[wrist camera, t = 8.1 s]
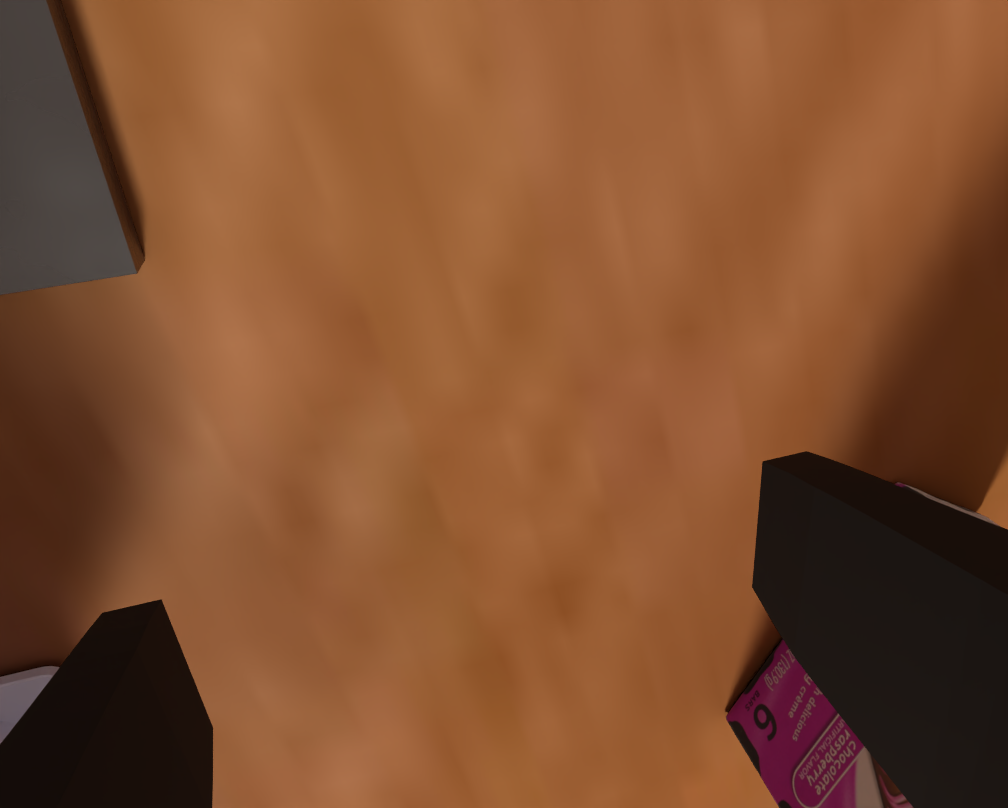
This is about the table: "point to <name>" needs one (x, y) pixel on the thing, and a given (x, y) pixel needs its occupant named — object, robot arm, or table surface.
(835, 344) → the table surface
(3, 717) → the robot arm
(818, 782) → the candy bar box
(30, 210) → the jack housing
